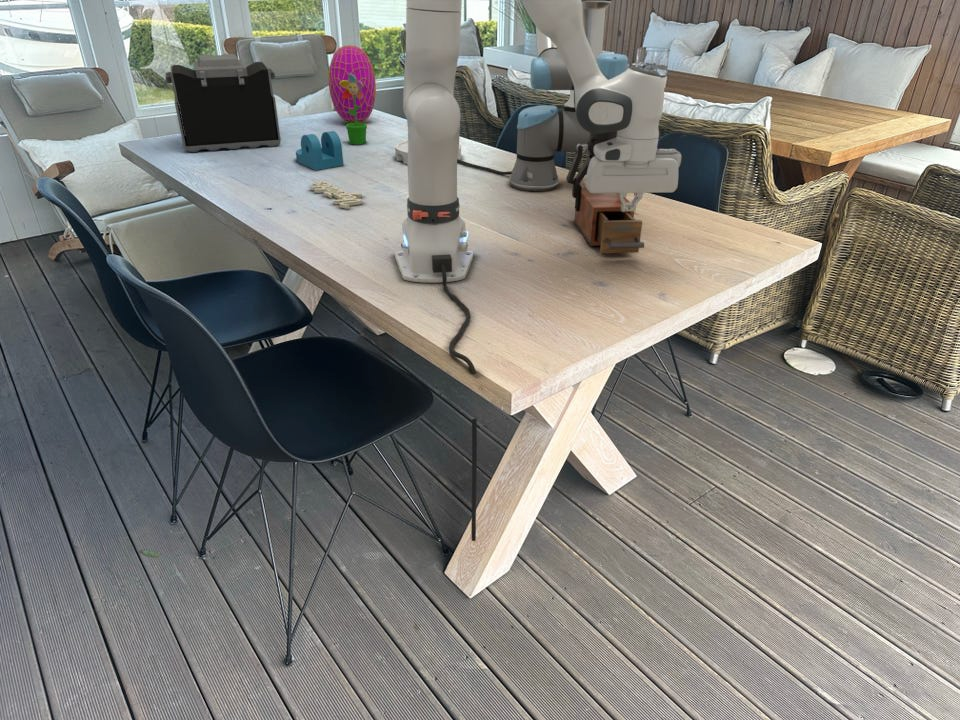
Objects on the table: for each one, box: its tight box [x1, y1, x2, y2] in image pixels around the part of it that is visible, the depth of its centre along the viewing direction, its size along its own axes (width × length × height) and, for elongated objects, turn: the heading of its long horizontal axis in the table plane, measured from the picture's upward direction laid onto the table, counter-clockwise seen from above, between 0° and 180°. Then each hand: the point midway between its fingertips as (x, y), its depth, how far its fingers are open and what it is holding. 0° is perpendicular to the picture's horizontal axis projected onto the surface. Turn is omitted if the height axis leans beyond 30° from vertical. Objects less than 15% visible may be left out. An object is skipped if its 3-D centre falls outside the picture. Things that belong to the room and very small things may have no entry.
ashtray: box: [394, 139, 462, 165], centre depth 243 cm, size 23×23×4 cm
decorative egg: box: [328, 44, 377, 124], centre depth 286 cm, size 19×19×30 cm
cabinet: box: [573, 186, 635, 246], centre depth 176 cm, size 20×10×10 cm, turn 5°
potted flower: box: [339, 73, 368, 145], centre depth 255 cm, size 9×8×25 cm
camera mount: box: [295, 130, 344, 171], centre depth 234 cm, size 18×10×10 cm, turn 39°
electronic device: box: [164, 53, 282, 153], centre depth 252 cm, size 37×22×30 cm, turn 111°
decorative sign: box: [310, 180, 363, 210], centre depth 204 cm, size 26×1×10 cm
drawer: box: [595, 211, 645, 254], centre depth 166 cm, size 23×9×8 cm, turn 5°
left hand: (628, 211), depth 155 cm, fingers closed
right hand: (597, 209), depth 181 cm, fingers closed on cabinet, 10 cm apart
